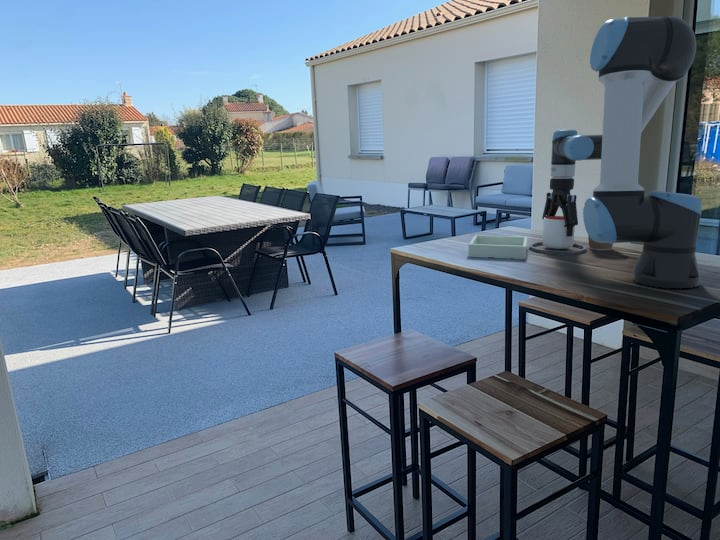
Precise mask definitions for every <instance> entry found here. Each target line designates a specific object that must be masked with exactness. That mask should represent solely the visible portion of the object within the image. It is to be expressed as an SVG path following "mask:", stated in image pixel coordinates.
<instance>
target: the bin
mask: <svg viewBox="0 0 720 540" xmlns="http://www.w3.org/2000/svg"><path fill="white" fill-rule="evenodd" d="M527 249H528V236H511V235H509V236H508V235H479V234H478V235H477V234H476V235H475V234H474V236H473V237H472V239H471V241H470V242H469V243H468V257H471V258H473V257H474V258H488V257H494V258H493V259H496V258H497V259H510V258H514V259H515V260H527V251H528V250H527Z"/></svg>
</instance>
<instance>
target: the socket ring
mask: <svg viewBox="0 0 720 540" xmlns="http://www.w3.org/2000/svg"><path fill="white" fill-rule="evenodd" d="M528 245H529V247H528V249H529V250H530V251H532V250H533V251H532V252H535V251H536V253H540V252H541V254H546V253H547V255H560V254H561V256H562V255H564V256H566V255H567V256H569V255H580V254H584V253H587V252H588V248H587V246H586V245H584V244H580V243H578V242H577V243H576V242H574V244H573V246H572V247H575V248H578V250H576V249H575V250H550V249H544V248H543V249H542V248H538V246H544V245H543V241H536V242H531V243H529V244H528ZM537 245H538V246H537ZM533 246H534V247H533Z"/></svg>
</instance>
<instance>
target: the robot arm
mask: <svg viewBox="0 0 720 540" xmlns="http://www.w3.org/2000/svg"><path fill="white" fill-rule="evenodd" d="M696 53H697V38H696V35H695V32H694V29H692V26H690V24H689V23H688V22H686V21H685V19H682V18H679V17H677V16H671V15H665V16H633V17H632V16H631V17H630V16H629V17H628V16H624V17H620V18H618V17H617V18H611V19H608V20H606V21H605V22H604V23H602V25H601V26H600V27H599V29H598V31H597V33H596V35H595V37H594V40H593V43H592V46H591V51H590V55H589V56H590V57H589V64H590V69H591V70H592V71H594V72H598V81H599V82H600V83H601V84H602V85H603V86H604V96H603V119H602V134H578V131H577V130H576V129H559V130H558V129H557V130H555V131H554V132H553V133H552V141H551V143H552V144H551V146H552V147H551V161H550V162H551V163H550V166H551V167H550V177H551V178H550V180H549V190H552V192H547V193H546V199H545V204H544V209H543V213H542V217H541V219H542V220H544V217H548V216H557V215H556V214H557V212H558V210H559V208H560V209H561V212H562V216H564V220H565V224H566V225H564V234H563V246H571V242H572V234H573V226H575V227H576V226H578V225H579V220H578V209H577V195H576V194H571V191H572V190H574V185H575V178H573V177H575V175H576V162H577V161H580V162H581V161H586V160H587V161H590V160H591V161H593V160H600V174H599V176H600V178H599V184H598V185H597V186H596V187H595V188H594V189H593V190H592V191H593V192H592V196H590V197H589V198H587V199H586V200H585V202H584V206H583V209H582V210H583V211H582V215H583V216H582V218H583V219H582V220H583V223H584V225H583V226H584V227H585V231H586V233H587V236H588V235H589V237H590V238H591V239H592V240H593V241H595V242H599V243H610V244H623V243H624V244H628V243H630V244H631V243H632V244H633V243H634V244H635V243H642V245H643V246H642V252H641V253H640V256H639V258H638V260H637V262H636V264H635V266H634V267H633V270H632V280H633V281H634V282H636V283H638V284H641V285H644V286H648V285H649V286H648V287H653V286H654V288H659V287H662V288H661V289H669V288H677V289H676V290H682V289H681V288H690V289H694V288H693V287H695V288H697V286H698V287H699V286H700V282H701V274H700V270H699V266H698V265H699V264H698V262H697V261H698V260H697V258H696V251H697V244H698V237H699V228H700V221H701V217H702V205H703V204H702V200H701V198H700V197H699V196H698V195H697V196H696V195H693V194H685V193H678V192H670V191H662V190H650V191H649V192H648V194H647V196H645V188H644V187H643V186H641V184H639V174H640V172H639V170H640V159H641V158H640V156H641V137H642V136H641V135H642V133H643V131H644V129H645V127H646V126H647V125H648V123H650V120H651V119H652V118H653V116H654V114H655V113H656V111H657V110H658V109H659V107H660V105H662V102H663V101H664V99H665V98H666V97H667V95H668V94H669V92H670V90H671V89H672V88H673V86H674V85H675V83H676V82H678V81H680V80H682V79H683V78H684V77H685V76H686V74H687V73H688V72H689V70H690V68H691V67H692V65H693V63H694V60H695V57H696ZM678 288H680V289H678Z"/></svg>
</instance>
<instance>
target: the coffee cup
mask: <svg viewBox="0 0 720 540" xmlns="http://www.w3.org/2000/svg"><path fill="white" fill-rule="evenodd" d="M587 237H588V239H587V240H588V248H589V250H594V251H611V250H612V248H613V244H610V243H599V242H595V241H593V240H592V239H591V238H590V237H589V235H588V234H587Z"/></svg>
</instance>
